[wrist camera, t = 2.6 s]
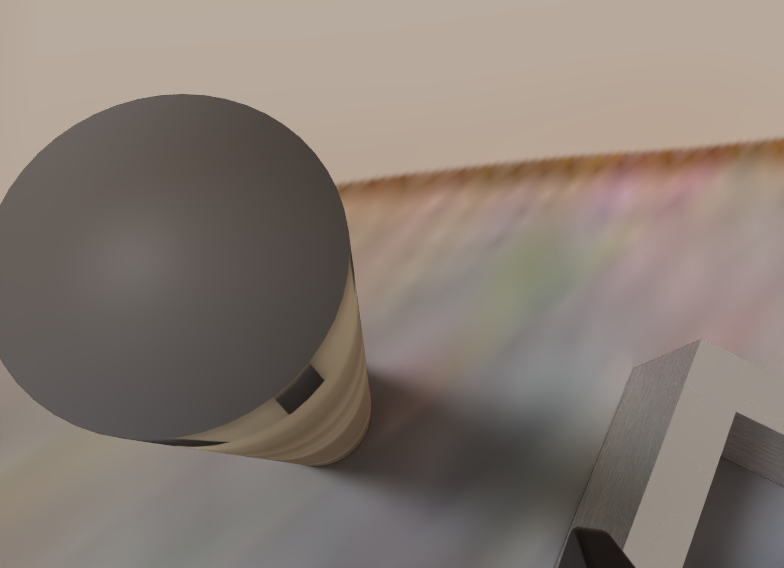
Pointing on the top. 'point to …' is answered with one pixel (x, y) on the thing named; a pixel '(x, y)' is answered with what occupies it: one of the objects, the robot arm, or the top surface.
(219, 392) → the slotted cylinder
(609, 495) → the socket block
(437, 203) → the top surface
